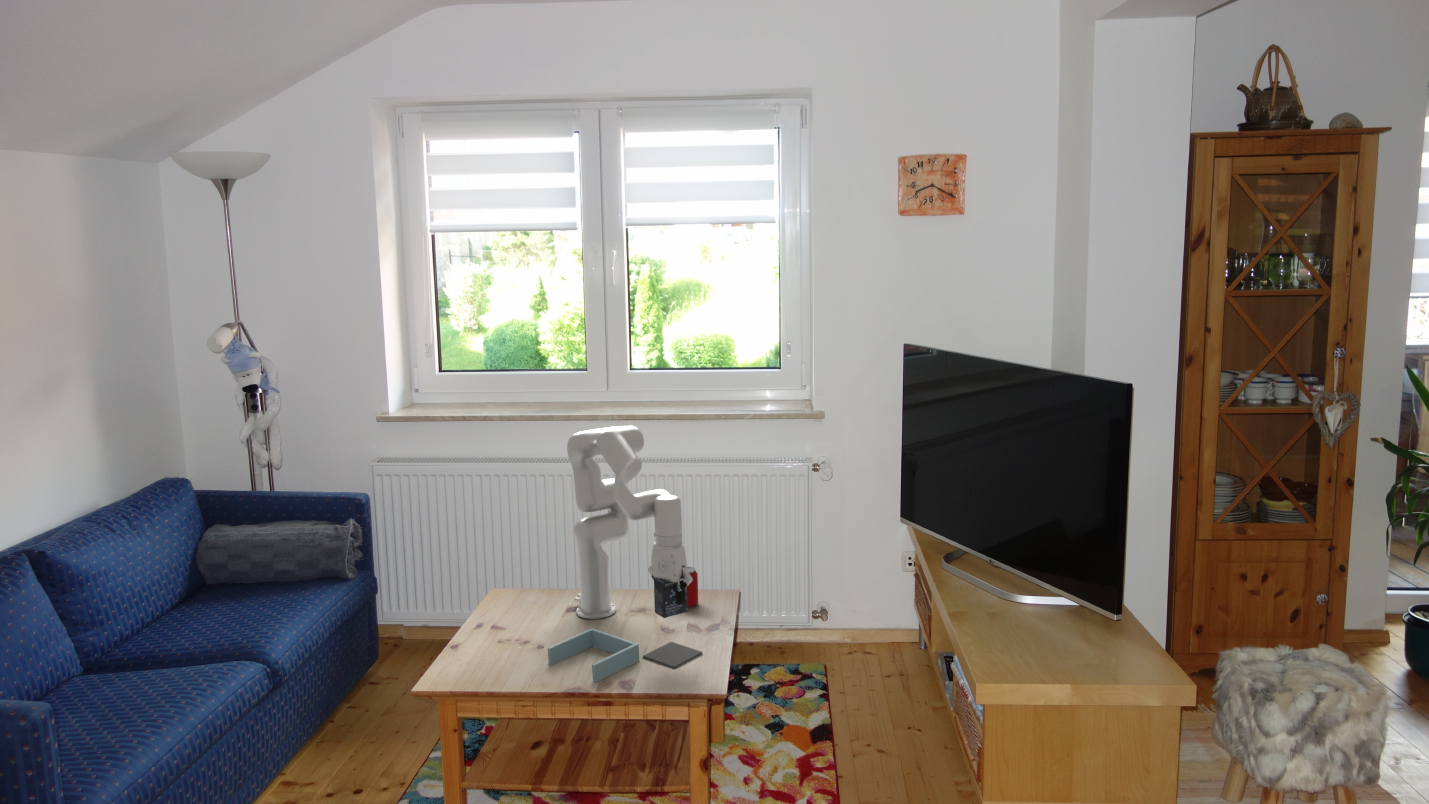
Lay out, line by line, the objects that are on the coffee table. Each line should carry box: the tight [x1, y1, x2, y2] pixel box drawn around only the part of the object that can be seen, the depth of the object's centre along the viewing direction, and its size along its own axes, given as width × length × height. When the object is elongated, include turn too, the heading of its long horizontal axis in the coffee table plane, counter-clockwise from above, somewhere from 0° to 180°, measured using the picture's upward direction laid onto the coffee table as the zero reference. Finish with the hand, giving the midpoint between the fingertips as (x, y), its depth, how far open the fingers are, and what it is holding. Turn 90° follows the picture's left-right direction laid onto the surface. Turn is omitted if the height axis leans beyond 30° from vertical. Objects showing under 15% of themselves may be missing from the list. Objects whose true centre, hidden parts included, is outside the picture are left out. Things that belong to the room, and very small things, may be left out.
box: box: [653, 577, 689, 619], centre depth 264 cm, size 8×6×11 cm
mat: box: [642, 641, 703, 669], centre depth 266 cm, size 12×12×1 cm
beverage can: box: [687, 566, 699, 608], centre depth 304 cm, size 7×7×12 cm
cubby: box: [547, 627, 640, 683], centre depth 263 cm, size 19×17×5 cm
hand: (671, 599), depth 264 cm, fingers closed on box, 6 cm apart
